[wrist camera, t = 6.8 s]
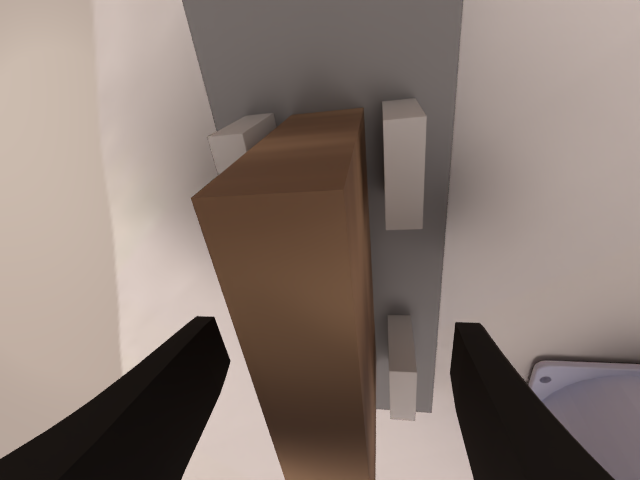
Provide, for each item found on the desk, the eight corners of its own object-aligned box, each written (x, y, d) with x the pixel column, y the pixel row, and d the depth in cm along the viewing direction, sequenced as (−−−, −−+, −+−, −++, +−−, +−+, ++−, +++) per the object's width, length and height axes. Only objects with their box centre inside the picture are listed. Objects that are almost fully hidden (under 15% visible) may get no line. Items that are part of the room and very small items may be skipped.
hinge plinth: (428, 388, 19) (440, 474, 15) (294, 380, 21) (275, 457, 17) (457, -67, 9) (510, -141, 6) (199, -17, 11) (101, -49, 7)
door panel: (376, 361, 17) (374, 540, 11) (313, 359, 17) (279, 526, 11) (363, 107, 11) (343, 190, 5) (269, 117, 11) (146, 200, 5)
